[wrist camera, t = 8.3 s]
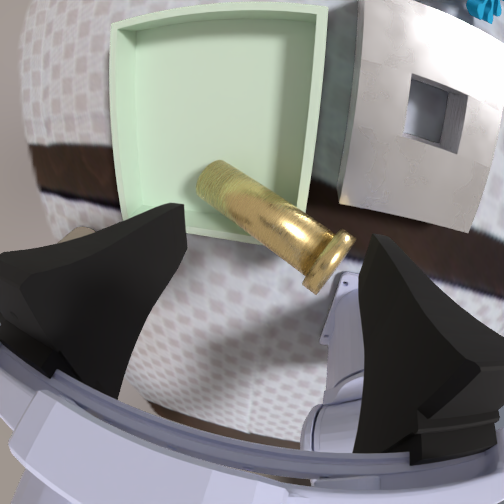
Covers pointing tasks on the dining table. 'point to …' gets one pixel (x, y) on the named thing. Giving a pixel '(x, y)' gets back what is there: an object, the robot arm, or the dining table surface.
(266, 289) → the dining table surface
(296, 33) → the parts tray
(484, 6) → the gear
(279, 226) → the pin
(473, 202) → the pin bracket
